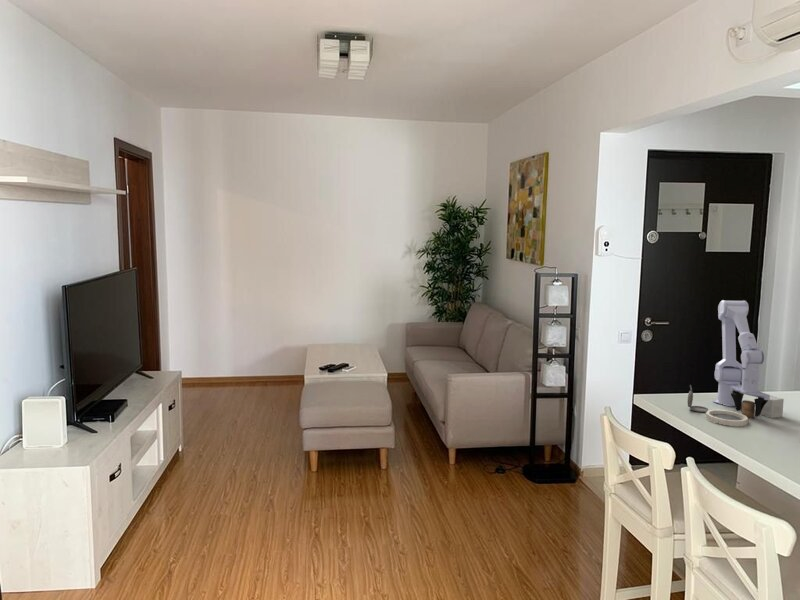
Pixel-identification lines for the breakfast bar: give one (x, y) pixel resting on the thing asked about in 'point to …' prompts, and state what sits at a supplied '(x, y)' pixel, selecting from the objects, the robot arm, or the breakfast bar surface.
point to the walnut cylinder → (748, 408)
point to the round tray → (727, 417)
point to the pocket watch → (694, 408)
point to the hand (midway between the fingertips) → (747, 413)
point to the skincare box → (773, 407)
